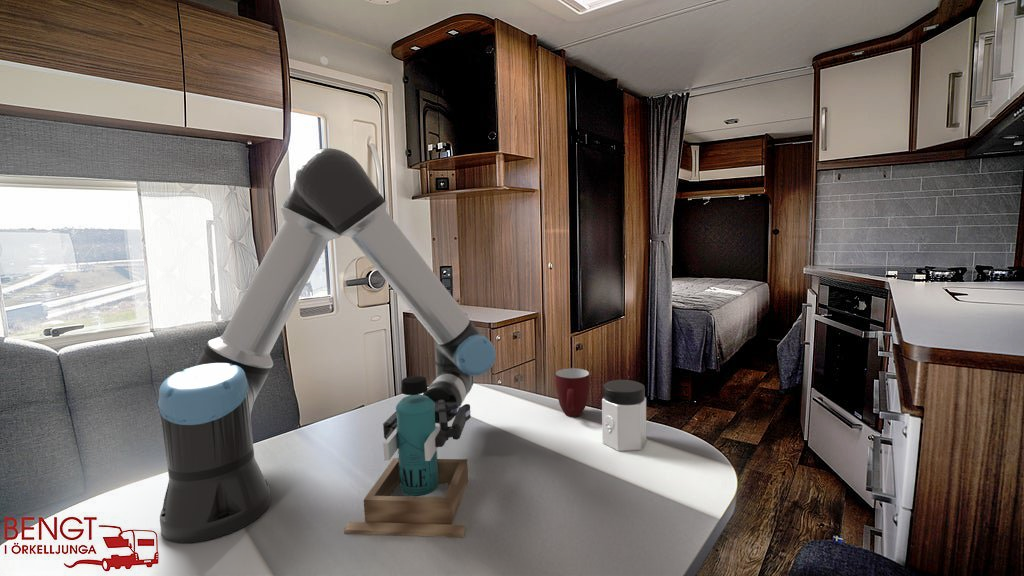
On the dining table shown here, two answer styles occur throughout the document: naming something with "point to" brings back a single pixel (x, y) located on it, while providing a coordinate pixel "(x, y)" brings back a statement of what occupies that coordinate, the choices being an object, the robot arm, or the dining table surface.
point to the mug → (572, 390)
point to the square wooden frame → (414, 505)
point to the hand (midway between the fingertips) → (406, 452)
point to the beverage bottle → (415, 438)
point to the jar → (624, 415)
